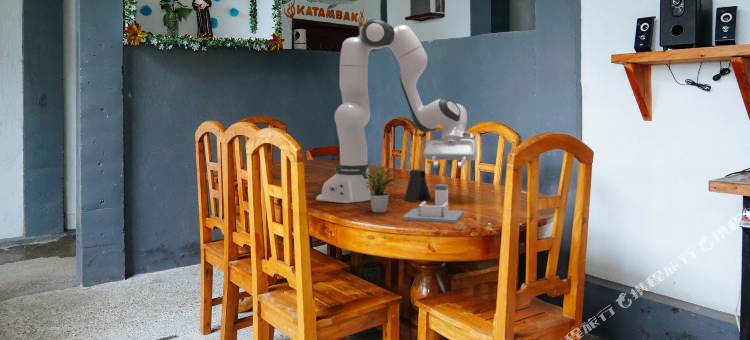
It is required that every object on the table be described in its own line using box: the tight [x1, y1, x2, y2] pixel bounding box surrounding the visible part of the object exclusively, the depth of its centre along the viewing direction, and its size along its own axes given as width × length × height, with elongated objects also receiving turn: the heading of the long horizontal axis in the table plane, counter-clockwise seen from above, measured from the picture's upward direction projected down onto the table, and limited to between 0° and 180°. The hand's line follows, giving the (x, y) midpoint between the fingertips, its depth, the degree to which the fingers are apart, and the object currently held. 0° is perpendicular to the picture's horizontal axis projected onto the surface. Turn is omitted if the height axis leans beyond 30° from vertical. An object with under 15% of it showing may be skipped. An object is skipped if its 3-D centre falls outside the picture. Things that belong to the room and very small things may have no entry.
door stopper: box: [403, 169, 432, 203], centre depth 225 cm, size 9×6×12 cm, turn 126°
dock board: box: [402, 201, 465, 224], centre depth 194 cm, size 18×15×4 cm
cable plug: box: [434, 183, 449, 206], centre depth 206 cm, size 4×4×9 cm
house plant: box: [365, 166, 399, 213], centre depth 203 cm, size 14×14×16 cm
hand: (447, 167), depth 215 cm, fingers open, 8 cm apart
